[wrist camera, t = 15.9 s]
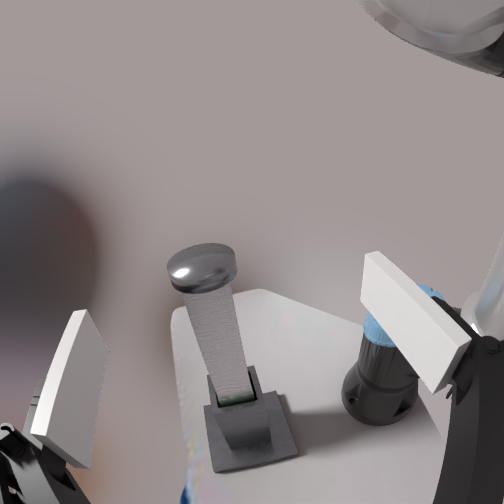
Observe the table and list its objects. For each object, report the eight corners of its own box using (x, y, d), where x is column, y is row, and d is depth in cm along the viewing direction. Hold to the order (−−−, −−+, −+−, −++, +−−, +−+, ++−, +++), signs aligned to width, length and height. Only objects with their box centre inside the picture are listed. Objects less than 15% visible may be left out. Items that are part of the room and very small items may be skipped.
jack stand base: (205, 409, 48) (181, 358, 41) (276, 394, 50) (270, 340, 42) (215, 473, 36) (187, 437, 28) (298, 455, 38) (299, 414, 30)
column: (218, 401, 41) (168, 250, 28) (257, 392, 42) (229, 238, 29) (224, 433, 36) (165, 284, 23) (266, 424, 37) (240, 269, 24)
